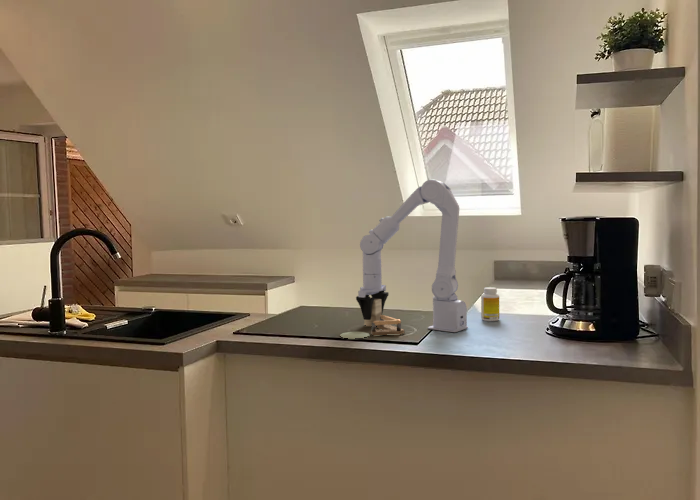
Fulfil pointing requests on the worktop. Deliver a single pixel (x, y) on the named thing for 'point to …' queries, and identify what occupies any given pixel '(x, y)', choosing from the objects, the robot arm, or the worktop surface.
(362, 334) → the pad
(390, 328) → the copper rod course
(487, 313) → the supplement bottle
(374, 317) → the birch handle block
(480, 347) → the worktop surface
